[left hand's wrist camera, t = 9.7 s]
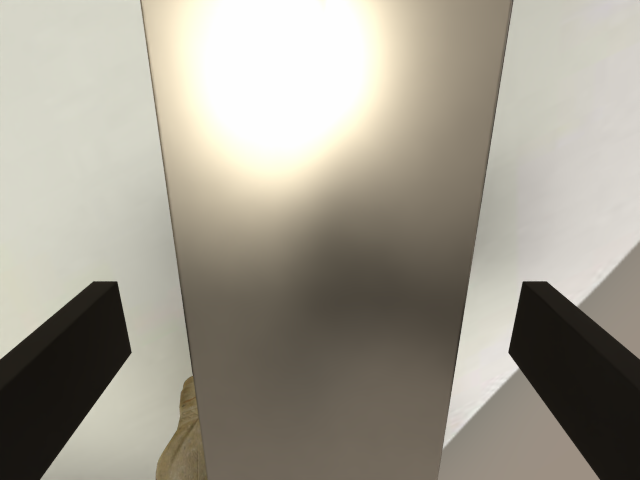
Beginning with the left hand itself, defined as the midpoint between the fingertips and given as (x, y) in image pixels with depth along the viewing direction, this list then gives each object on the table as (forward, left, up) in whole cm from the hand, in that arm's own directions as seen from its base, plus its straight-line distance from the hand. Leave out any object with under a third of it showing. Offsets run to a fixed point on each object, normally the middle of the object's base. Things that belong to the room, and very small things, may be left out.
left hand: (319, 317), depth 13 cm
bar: (+7, +4, -3) cm, 9 cm away
